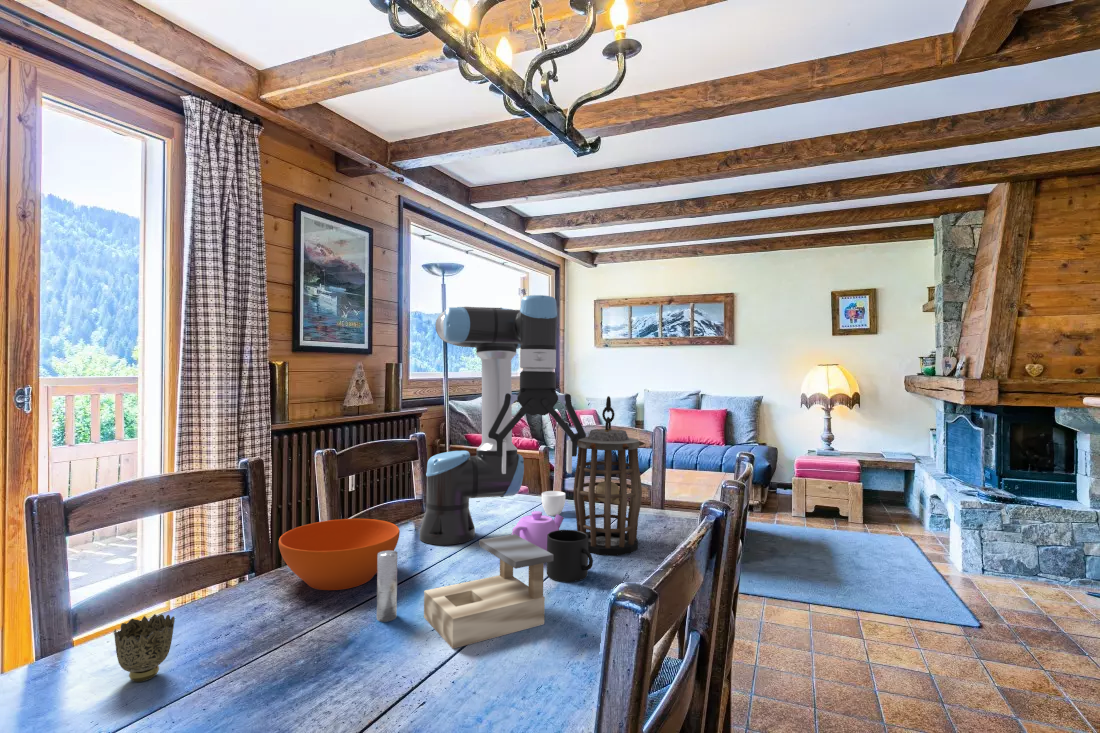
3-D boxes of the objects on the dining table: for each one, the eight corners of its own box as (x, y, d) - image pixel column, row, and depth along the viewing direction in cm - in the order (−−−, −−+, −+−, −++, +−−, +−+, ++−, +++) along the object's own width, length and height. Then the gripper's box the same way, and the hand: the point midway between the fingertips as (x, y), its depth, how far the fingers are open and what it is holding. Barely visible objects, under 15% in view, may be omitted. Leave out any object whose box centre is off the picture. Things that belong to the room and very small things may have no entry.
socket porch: (422, 616, 107) (423, 548, 108) (513, 595, 118) (514, 534, 118) (453, 650, 95) (454, 573, 95) (552, 623, 105) (553, 554, 105)
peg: (374, 615, 107) (375, 552, 107) (393, 611, 109) (394, 549, 109) (379, 623, 104) (380, 557, 104) (399, 618, 106) (399, 554, 106)
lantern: (636, 561, 140) (638, 398, 140) (561, 552, 146) (563, 396, 146) (648, 539, 158) (650, 395, 158) (581, 532, 164) (583, 393, 165)
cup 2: (134, 665, 89) (135, 613, 89) (183, 663, 89) (184, 612, 89) (100, 692, 81) (101, 636, 81) (155, 690, 82) (155, 634, 82)
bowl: (421, 578, 127) (421, 533, 127) (309, 612, 109) (310, 560, 109) (363, 552, 144) (364, 513, 144) (259, 578, 126) (259, 533, 126)
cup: (536, 515, 183) (536, 493, 183) (553, 508, 191) (554, 488, 191) (556, 518, 179) (556, 497, 179) (573, 512, 187) (573, 491, 187)
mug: (578, 589, 122) (579, 547, 122) (538, 575, 130) (538, 535, 130) (605, 577, 129) (605, 537, 129) (565, 564, 137) (565, 527, 137)
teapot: (582, 548, 149) (582, 508, 149) (535, 569, 133) (536, 524, 133) (540, 538, 158) (540, 500, 158) (491, 557, 141) (492, 514, 142)
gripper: (477, 369, 113) (475, 476, 113) (600, 371, 116) (599, 475, 116) (477, 369, 121) (476, 469, 121) (593, 370, 124) (592, 468, 123)
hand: (536, 472), depth 118 cm, fingers open, 13 cm apart
